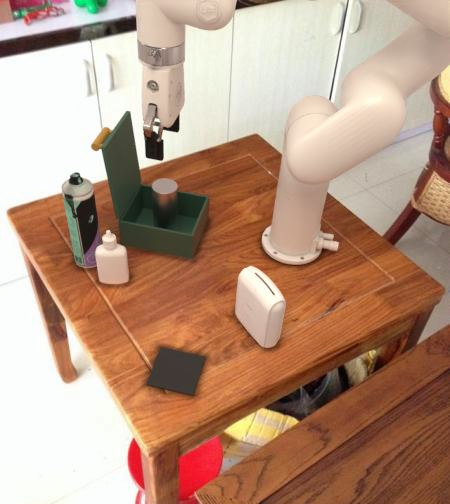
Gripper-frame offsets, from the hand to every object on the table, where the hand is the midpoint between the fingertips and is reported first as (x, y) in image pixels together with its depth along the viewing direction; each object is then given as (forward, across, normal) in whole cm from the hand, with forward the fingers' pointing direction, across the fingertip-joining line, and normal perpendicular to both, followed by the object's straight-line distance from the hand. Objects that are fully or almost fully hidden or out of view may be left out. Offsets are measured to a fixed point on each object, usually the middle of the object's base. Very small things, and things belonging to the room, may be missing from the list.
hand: (163, 144), depth 102 cm
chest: (+21, 0, 0) cm, 21 cm away
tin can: (+20, 0, 0) cm, 21 cm away
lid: (+6, 0, +8) cm, 10 cm away
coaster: (+21, -33, -12) cm, 41 cm away
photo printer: (+21, -20, -24) cm, 37 cm away
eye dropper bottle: (+21, -16, +5) cm, 27 cm away
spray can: (+21, -12, +12) cm, 27 cm away
